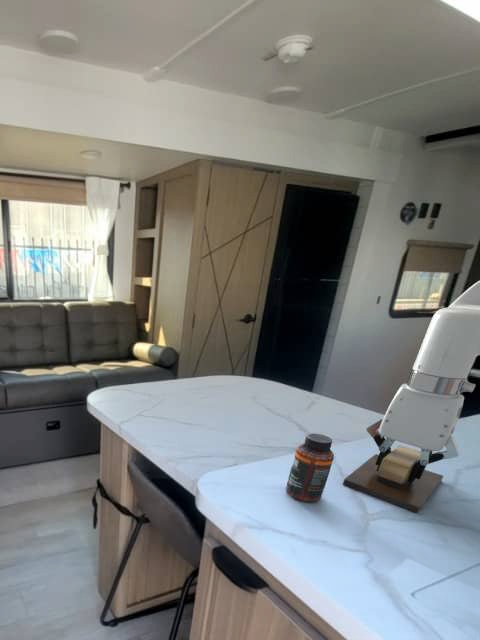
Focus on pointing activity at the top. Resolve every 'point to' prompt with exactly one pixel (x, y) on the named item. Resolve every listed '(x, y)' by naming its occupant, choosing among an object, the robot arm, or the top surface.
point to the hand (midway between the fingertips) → (396, 474)
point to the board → (404, 496)
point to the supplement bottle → (310, 468)
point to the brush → (398, 466)
